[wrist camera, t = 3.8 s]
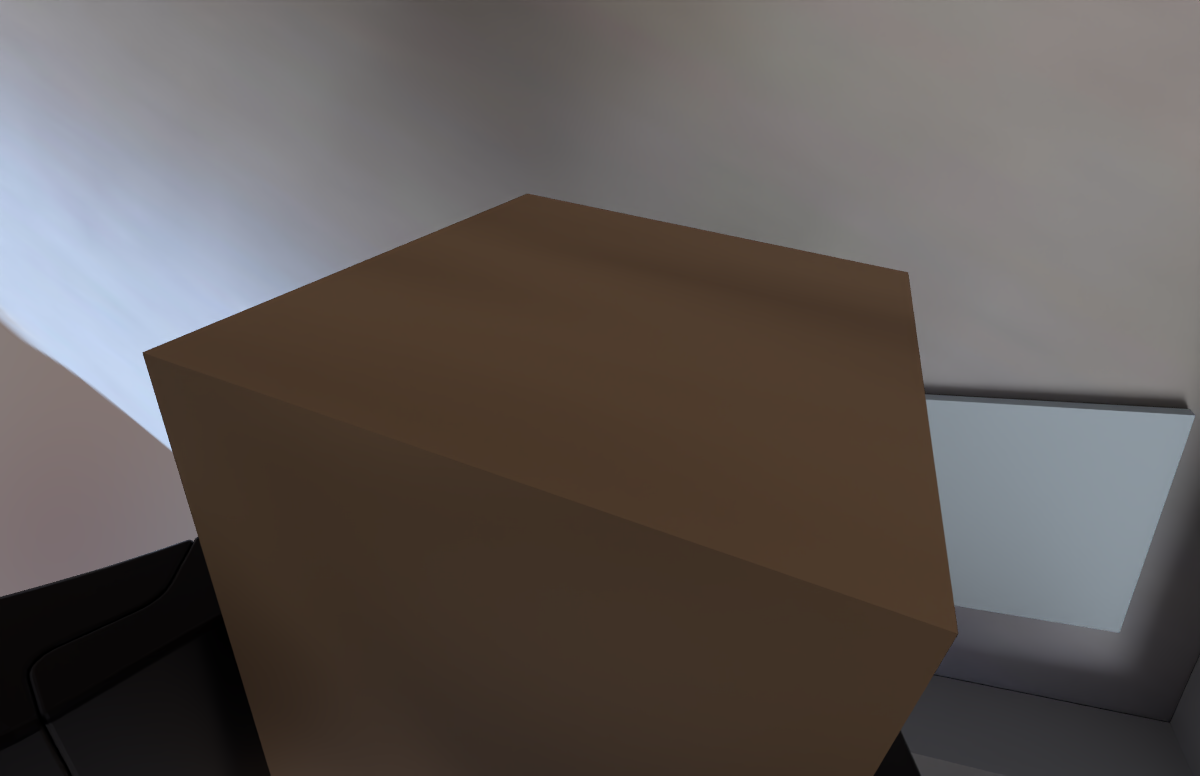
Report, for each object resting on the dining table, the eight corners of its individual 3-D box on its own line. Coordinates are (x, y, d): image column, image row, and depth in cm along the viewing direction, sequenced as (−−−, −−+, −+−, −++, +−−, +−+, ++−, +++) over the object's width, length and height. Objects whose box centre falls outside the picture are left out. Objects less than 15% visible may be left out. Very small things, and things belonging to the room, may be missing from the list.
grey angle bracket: (1219, 768, 19) (1271, 879, 16) (667, 647, 25) (645, 714, 22) (1591, 50, 10) (1818, 55, 8) (615, 140, 16) (570, 158, 14)
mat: (1115, 624, 18) (1119, 632, 18) (755, 566, 21) (754, 572, 21) (1190, 409, 15) (1195, 415, 14) (753, 384, 18) (751, 389, 18)
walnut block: (743, 717, 11) (659, 1133, 7) (509, 621, 12) (315, 921, 8) (908, 273, 7) (959, 633, 3) (527, 194, 8) (142, 352, 4)
